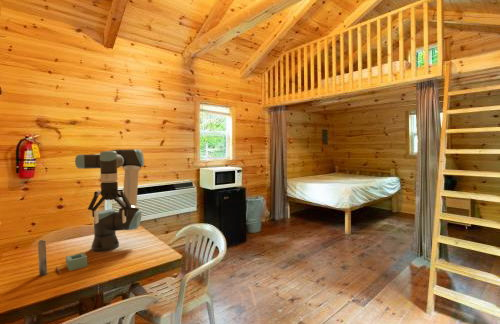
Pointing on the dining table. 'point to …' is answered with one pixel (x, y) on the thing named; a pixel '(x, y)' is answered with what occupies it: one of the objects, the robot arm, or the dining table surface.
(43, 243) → the grey long bar
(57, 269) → the lace
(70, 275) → the dining table surface
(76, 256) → the green hollow block
